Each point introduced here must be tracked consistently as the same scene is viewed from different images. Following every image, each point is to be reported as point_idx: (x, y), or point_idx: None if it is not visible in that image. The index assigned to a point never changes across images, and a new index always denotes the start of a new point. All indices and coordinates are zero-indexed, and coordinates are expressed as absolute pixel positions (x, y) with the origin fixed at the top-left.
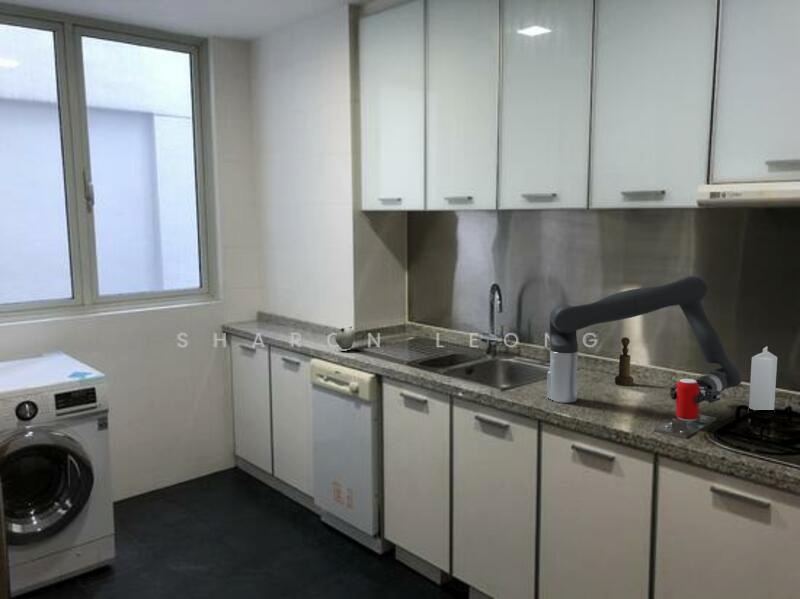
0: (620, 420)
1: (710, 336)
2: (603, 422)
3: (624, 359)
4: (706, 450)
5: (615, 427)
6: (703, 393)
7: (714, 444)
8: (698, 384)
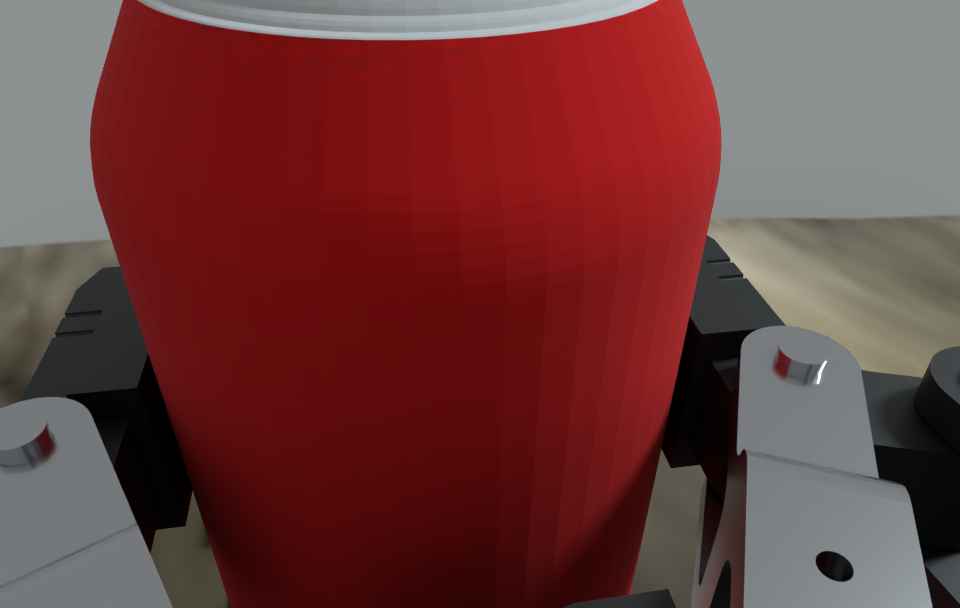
0: (912, 345)
1: None
2: (887, 250)
3: None
4: (61, 265)
5: (746, 233)
6: (21, 414)
7: (5, 379)
8: (104, 102)
